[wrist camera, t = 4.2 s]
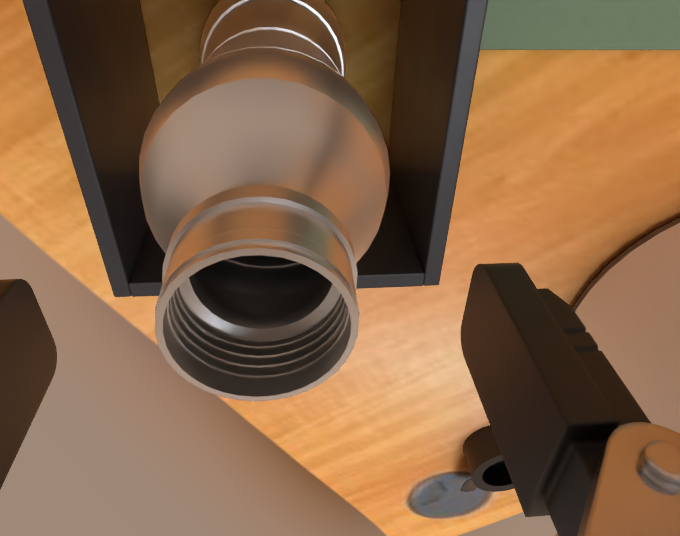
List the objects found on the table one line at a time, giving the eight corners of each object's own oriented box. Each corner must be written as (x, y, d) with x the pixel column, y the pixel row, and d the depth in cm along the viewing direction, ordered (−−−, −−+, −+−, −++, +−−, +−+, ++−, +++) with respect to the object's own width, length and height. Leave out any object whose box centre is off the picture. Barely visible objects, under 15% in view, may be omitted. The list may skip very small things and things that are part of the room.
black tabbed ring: (560, 442, 47) (574, 470, 45) (462, 482, 50) (471, 511, 48) (531, 399, 43) (545, 428, 41) (426, 445, 46) (434, 475, 44)
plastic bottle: (197, 95, 26) (58, 429, 10) (220, -55, 22) (61, 98, 6) (318, 129, 28) (365, 463, 12) (360, -6, 24) (511, 215, 8)
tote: (93, -148, 20) (-32, -170, 12) (429, -137, 21) (515, -151, 13) (161, 183, 29) (113, 297, 21) (397, 178, 30) (439, 285, 22)
